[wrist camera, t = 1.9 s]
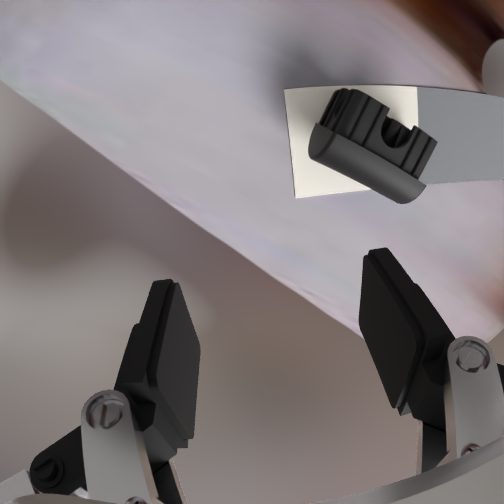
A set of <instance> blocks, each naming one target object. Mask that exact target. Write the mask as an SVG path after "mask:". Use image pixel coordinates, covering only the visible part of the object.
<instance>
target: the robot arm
mask: <svg viewBox="0 0 504 504" xmlns="http://www.w3.org/2000/svg"><path fill="white" fill-rule="evenodd" d="M359 326H360V330H361V332H362V334H363V337H364V339H365V342H366V344H367V346H368V349H369V351H370V354H371V356H372V358H373V361H374V363H375V366H376V368H377V370H378V373H379V376H380V378H381V381H382V384H383V386H384V389H385V391H386V394H387V396H388V399H389V402H390V404H391V406H392V408H397V409H398V411H399V414H400V416H402V415H405V414H408V413H412V415H413V418H415V419H417V422H418V424H417V426H418V427H417V428H418V429H417V461H416V476H413V477H410V478H408V479H404V480H401V481H398V482H395V483H392V484H389V485H385V486H382V487H378V488H375V489H371V490H367V491H364V492H360V493H356V494H351V495H347V496H343V497H338V498H333V499H329V500H323V501H318V502H311V503H306V504H504V366H503V365H500V364H497V363H496V359H495V355H494V353H493V351H492V349H491V348H490V346H489V345H488V344H487V343H486V342H484V341H483V340H481V339H479V338H476V337H473V336H463V337H459V338H457V339H455V337H454V336H453V334H452V332H451V331H450V329H449V328H448V326H447V325H446V323H445V322H444V320H443V319H442V318H441V316H440V315H439V313H438V312H437V310H436V309H435V307H434V306H433V305H432V303H431V302H430V300H429V299H428V297H427V296H426V295H425V293H424V292H423V291H422V289H421V288H420V287H419V286H418V285H417V284H416V283H414V282H413V281H412V280H411V278H410V277H409V275H408V274H407V273H406V271H405V270H404V269H403V267H402V266H401V265H400V263H399V262H398V261H397V259H396V258H395V257H394V256H393V254H392V253H391V252H390V250H389V249H388V248H379V249H373V250H370V251H369V253H368V255H365V256H364V258H363V271H362V286H361V299H360V310H359ZM199 362H200V344H199V340H198V338H197V335H196V332H195V329H194V326H193V324H192V320H191V317H190V315H189V312H188V309H187V306H186V303H185V300H184V297H183V294H182V290H181V287H180V285H179V283H174V282H173V280H172V279H166V280H158V281H154V282H153V283H152V287H151V289H150V292H149V296H148V298H147V301H146V304H145V307H144V310H143V313H142V316H141V319H140V322H139V323H138V324H135V325H134V327H133V329H132V332H131V334H130V337H129V340H128V344H127V347H126V350H125V353H124V356H123V360H122V363H121V366H120V369H119V373H118V377H117V380H116V383H115V387H114V390H103V391H100V392H98V393H95V394H94V395H93V396H91V397H90V398H89V399H88V400H87V401H86V403H85V404H84V406H83V408H82V410H81V425H80V426H79V427H77V428H76V429H74V430H73V431H71V432H70V433H69V434H67V435H66V436H64V437H63V438H61V439H60V440H58V441H57V442H55V443H54V444H52V445H51V446H49V447H48V448H47V449H45V450H44V451H42V452H41V453H39V454H38V455H37V456H36V457H35V458H34V460H33V462H32V463H31V467H30V471H28V470H26V469H24V470H22V471H21V472H19V473H17V474H15V475H14V476H12V477H10V478H8V479H6V480H5V481H3V482H1V483H0V504H187V501H186V498H185V495H184V492H183V489H182V486H181V484H180V481H179V477H178V474H177V471H176V468H175V465H174V462H173V459H172V457H173V456H175V455H176V454H177V448H188V439H193V437H194V426H195V411H196V398H197V386H198V374H199Z"/></svg>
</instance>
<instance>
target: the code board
mask: <svg viewBox="0 0 504 504" xmlns="http://www.w3.org/2000/svg"><path fill="white" fill-rule="evenodd" d="M341 88H347V89H349V90H351V89H357V90H360V91H362V92H364V93H366V94H368V95H369V96H371V97H373V98H374V99H376V100H378V101H379V102H381V103H382V104H384V105H386V106H387V107H389V108H390V110H389V112H388V114H387V116H388V117H389V118H393V119H395V120H397V121H398V122H400V123H401V124H403V125H404V126H406V127H407V128H409V129H410V130H412V128H413V126H414V125H415V126H417V127H418V100H417V87H412V86H386V85H348V86H322V87H306V88H293V89H284V96H285V104H286V112H287V120H288V129H289V138H290V147H291V156H292V166H293V176H294V186H295V197H296V198H303V197H310V196H319V195H327V194H335V193H344V192H353V191H362V190H372V189H370V188H368V187H367V186H365V185H363V184H361V183H359V182H357V181H355V180H353V179H351V178H349V177H347V176H345V175H343V174H341V173H339V172H337V171H334V170H332V169H330V168H328V167H326V166H324V165H322V164H320V163H318V162H315V161H313V160H312V159H310V157H309V155H308V145H309V140H310V136H311V133H312V131H313V128H314V126H315V123H318V124H319V121H320V119H321V117H322V115H323V113H324V111H325V109H326V107H327V105H328V103H329V101H330V99H331V97H332V95H333V93H334V91H335V90H338V89H340V90H341Z"/></svg>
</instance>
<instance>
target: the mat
mask: <svg viewBox="0 0 504 504" xmlns="http://www.w3.org/2000/svg"><path fill="white" fill-rule="evenodd" d="M417 100H418V127H419V128H420V129H421V130H423V131H424V132H425V133H427V134H428V135H430V136H431V137H432V138H434V139H435V140H436V141H437V142H438V143H437V145H436V147H435V149H434V151H433V153H432V155H431V157H430V159H429V161H428V162H427V164H426V166H425V168H424V170H423V172H422V174H421V176H420V178H419V179H418V180H419V181H420V182H422V183H423V184H425V185H426V184H439V183H453V182H468V181H485V180H504V97H499V96H493V95H487V94H481V93H474V92H466V91H458V90H449V89H439V88H427V87H417Z"/></svg>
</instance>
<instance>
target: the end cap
mask: <svg viewBox="0 0 504 504" xmlns="http://www.w3.org/2000/svg"><path fill="white" fill-rule="evenodd" d="M389 110H390V108H389V107H387V106H386V105H384V104H382V103H381V102H379V101H378V100H376V99H374V98H373V97H371V96H369V95H368V94H366V93H364V92H362V91H360V90H357V89H351V90H349V89H347V88H341V90H340V89H338V90H335V91H334V93H333V95H332V97H331V99H330V101H329V103H328V105H327V107H326V109H325V111H324V113H323V115H322V117H321V119H320V121H319V124H318V123H315V126H314V128H313V131H312V133H311V136H310V140H309V145H308V155H309V157H310V159H312V160H313V161H315V162H318V163H320V164H322V165H324V166H326V167H328V168H330V169H332V170H334V171H337V172H339V173H341V174H343V175H345V176H347V177H349V178H351V179H353V180H355V181H357V182H359V183H361V184H363V185H365V186H367V187H368V188H370V189H372V190H374V191H376V192H378V193H380V194H382V195H384V196H385V197H387V198H389V199H391V200H393V201H395V202H396V203H399V204H406V203H409V202H411V201H413V200H414V199H416V198H417V197H418V196H419V195H420V194H421V193H422V192H423V190H424V189H425V187H426V185H425V184H423V183H422V182H420V181H419V180H418V179H419V178H420V176H421V174H422V172H423V170H424V168H425V166H426V164H427V162H428V161H429V159H430V157H431V155H432V153H433V151H434V149H435V147H436V145H437V143H438V142H437V141H436V140H435V139H434V138H432V137H431V136H430V135H428V134H427V133H425V132H424V131H423V130H421V129H420V128H419V127H417V126H415V125H414V126H413V128H412V130H410V129H409V128H407V127H406V126H404V125H403V124H401V123H400V122H398V121H397V120H395V119H393V118H389V117H388V116H387V114H388V112H389Z"/></svg>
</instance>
